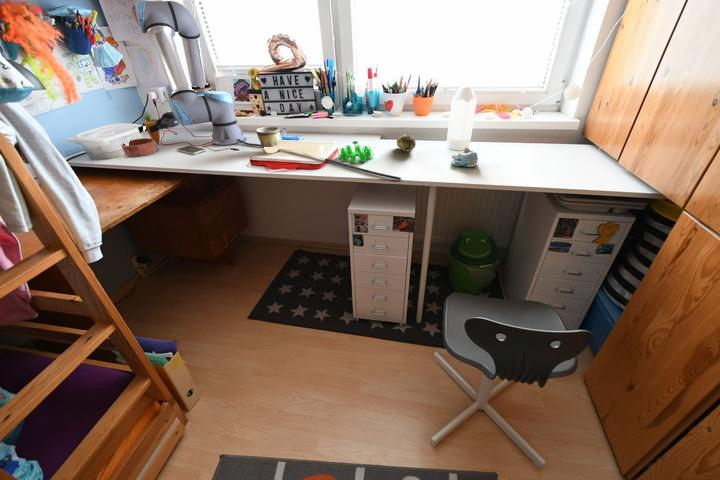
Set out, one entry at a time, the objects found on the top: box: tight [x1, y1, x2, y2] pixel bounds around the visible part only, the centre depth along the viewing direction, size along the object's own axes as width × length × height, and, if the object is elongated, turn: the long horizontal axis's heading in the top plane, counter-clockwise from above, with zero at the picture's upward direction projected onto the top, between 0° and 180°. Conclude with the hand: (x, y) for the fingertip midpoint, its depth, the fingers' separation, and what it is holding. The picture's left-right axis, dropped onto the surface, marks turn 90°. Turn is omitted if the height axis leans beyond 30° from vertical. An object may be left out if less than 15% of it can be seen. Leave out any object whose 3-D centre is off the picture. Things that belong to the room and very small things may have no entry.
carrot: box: [141, 112, 161, 146], centre depth 159 cm, size 5×5×15 cm
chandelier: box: [337, 140, 374, 164], centre depth 134 cm, size 15×15×7 cm
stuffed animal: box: [450, 146, 479, 168], centre depth 124 cm, size 11×7×12 cm
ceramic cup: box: [255, 126, 281, 149], centre depth 146 cm, size 13×10×10 cm
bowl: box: [120, 137, 158, 158], centre depth 151 cm, size 13×13×5 cm
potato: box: [396, 134, 417, 152], centre depth 139 cm, size 8×13×8 cm, turn 172°
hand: (145, 130), depth 154 cm, fingers closed on carrot, 5 cm apart
